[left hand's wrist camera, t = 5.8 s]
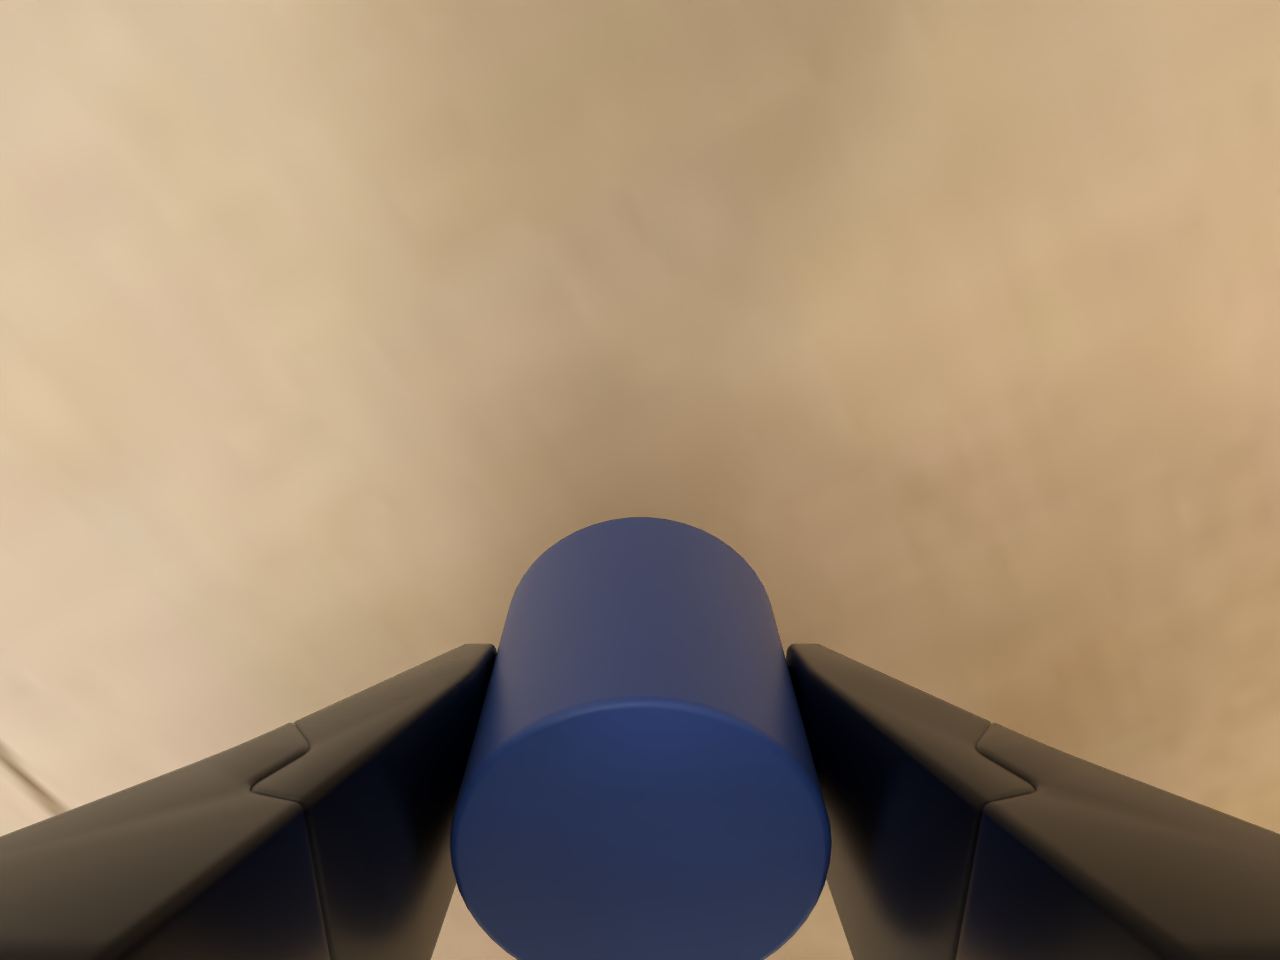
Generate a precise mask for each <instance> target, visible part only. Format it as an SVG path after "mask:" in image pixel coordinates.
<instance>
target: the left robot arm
mask: <svg viewBox="0 0 1280 960" xmlns="http://www.w3.org/2000/svg"><path fill="white" fill-rule="evenodd" d="M496 655H497V651H496V648H495V646H493V645H492V644H465V645H462V646H460V647H458V648H456V649H454V650H451V651H449V652H447V653H445V654H443V655H440V656H438V657H436V658H434V659H432V660H429V661H427V662H425V663H423V664H421V665H418V666H416V667H414V668H412V669H410V670H407V671H405V672H403V673H401V674H399V675H396V676H394V677H392V678H390V679H388V680H385V681H383V682H381V683H379V684H377V685H374V686H372V687H370V688H368V689H366V690H363V691H361V692H359V693H357V694H355V695H352V696H350V697H348V698H346V699H344V700H341V701H339V702H337V703H335V704H333V705H330V706H328V707H326V708H324V709H322V710H319V711H317V712H315V713H313V714H311V715H308V716H306V717H304V718H302V719H300V720H297V721H295V722H294V724H293V723H288V724H286V725H284V726H282V727H279V728H277V729H275V730H273V731H271V732H268V733H266V734H264V735H261V736H259V737H257V738H254V739H252V740H250V741H248V742H245V743H243V744H241V745H238V746H236V747H234V748H231V749H228V750H226V751H223V752H221V753H218V754H216V755H213V756H211V757H208V758H206V759H203V760H201V761H198V762H196V763H193V764H191V765H188V766H185V767H183V768H180V769H177V770H175V771H172V772H170V773H167V774H164V775H162V776H159V777H156V778H154V779H151V780H148V781H146V782H143V783H141V784H138V785H135V786H133V787H130V788H127V789H125V790H122V791H120V792H117V793H114V794H112V795H109V796H106V797H104V798H101V799H99V800H96V801H93V802H91V803H88V804H85V805H83V806H80V807H77V808H75V809H72V810H70V811H67V812H64V813H62V814H59V815H56V816H54V817H51V818H49V819H46V820H43V821H41V822H38V823H35V824H33V825H30V826H28V827H25V828H22V829H20V830H17V831H14V832H12V833H9V834H6V835H4V836H1V837H0V960H431V957H432V954H433V951H434V948H435V945H436V942H437V939H438V936H439V933H440V930H441V927H442V924H443V921H444V918H445V915H446V912H447V909H448V906H449V903H450V900H451V897H452V895H453V892H454V889H455V886H456V883H457V882H456V878H455V875H454V872H453V868H452V862H451V854H450V830H451V824H452V819H453V815H454V810H455V806H456V802H457V799H458V795H459V791H460V788H461V784H462V780H463V777H464V773H465V769H466V766H467V762H468V758H469V755H470V751H471V747H472V743H473V740H474V736H475V732H476V729H477V725H478V721H479V718H480V714H481V710H482V707H483V703H484V699H485V696H486V692H487V688H488V685H489V681H490V677H491V674H492V670H493V666H494V662H495V659H496ZM786 663H787V666H788V670H789V674H790V677H791V681H792V685H793V688H794V692H795V696H796V699H797V703H798V707H799V710H800V714H801V718H802V721H803V725H804V729H805V732H806V736H807V740H808V743H809V747H810V751H811V754H812V758H813V762H814V765H815V769H816V773H817V776H818V780H819V784H820V787H821V791H822V795H823V798H824V802H825V806H826V810H827V813H828V817H829V821H830V828H831V839H832V846H831V858H830V865H829V869H828V873H827V877H826V879H827V882H828V885H829V888H830V891H831V894H832V897H833V900H834V903H835V906H836V909H837V912H838V914H839V917H840V920H841V923H842V926H843V929H844V932H845V935H846V938H847V941H848V944H849V947H850V950H851V953H852V955H853V958H854V960H1280V834H1278V833H1275V832H1273V831H1270V830H1267V829H1265V828H1262V827H1259V826H1257V825H1254V824H1251V823H1249V822H1246V821H1243V820H1241V819H1238V818H1236V817H1233V816H1230V815H1228V814H1225V813H1222V812H1220V811H1217V810H1214V809H1212V808H1209V807H1206V806H1204V805H1201V804H1198V803H1196V802H1193V801H1191V800H1188V799H1185V798H1183V797H1180V796H1177V795H1175V794H1172V793H1169V792H1167V791H1164V790H1161V789H1159V788H1156V787H1153V786H1151V785H1148V784H1146V783H1143V782H1140V781H1138V780H1135V779H1132V778H1130V777H1127V776H1124V775H1122V774H1119V773H1116V772H1114V771H1111V770H1108V769H1106V768H1103V767H1100V766H1098V765H1095V764H1093V763H1090V762H1088V761H1085V760H1082V759H1080V758H1077V757H1075V756H1072V755H1070V754H1067V753H1065V752H1062V751H1060V750H1057V749H1054V748H1052V747H1049V746H1047V745H1045V744H1042V743H1040V742H1038V741H1035V740H1033V739H1031V738H1028V737H1026V736H1024V735H1021V734H1019V733H1017V732H1015V731H1012V730H1010V729H1008V728H1006V727H1003V726H1001V725H999V724H997V723H992V724H991V722H989V721H988V720H985V719H983V718H981V717H979V716H976V715H974V714H972V713H970V712H968V711H965V710H963V709H961V708H959V707H956V706H954V705H952V704H950V703H948V702H945V701H943V700H941V699H939V698H937V697H934V696H932V695H930V694H928V693H925V692H923V691H921V690H919V689H917V688H914V687H912V686H910V685H908V684H905V683H903V682H901V681H899V680H897V679H894V678H892V677H890V676H888V675H886V674H883V673H881V672H879V671H877V670H874V669H872V668H870V667H868V666H866V665H863V664H861V663H859V662H857V661H855V660H852V659H850V658H848V657H846V656H843V655H841V654H839V653H837V652H835V651H832V650H830V649H828V648H826V647H823V646H821V645H819V644H792V645H790V646H789V647H788V649H787V655H786Z"/></svg>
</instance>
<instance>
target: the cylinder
mask: <svg viewBox="0 0 1280 960" xmlns="http://www.w3.org/2000/svg"><path fill="white" fill-rule="evenodd" d="M831 846H832V839H831V828H830V821H829V817H828V813H827V810H826V806H825V802H824V798H823V795H822V791H821V787H820V784H819V780H818V776H817V773H816V769H815V765H814V762H813V758H812V754H811V751H810V747H809V743H808V740H807V736H806V732H805V729H804V725H803V721H802V718H801V714H800V710H799V707H798V703H797V699H796V696H795V692H794V688H793V685H792V681H791V677H790V674H789V670H788V666H787V663H786V659H785V655H784V652H783V648H782V644H781V640H780V637H779V633H778V629H777V626H776V622H775V618H774V615H773V611H772V607H771V604H770V600H769V598H768V596H767V593H766V591H765V589H764V586H763V585H762V583H761V581H760V580H759V578H758V576H757V575H756V573H755V572H754V570H753V569H752V568H751V567H750V566H749V565H748V563H747V562H746V561H745V560H744V559H743V558H742V557H741V556H740V555H739V554H738V553H737V552H736V551H734V550H733V549H732V548H731V547H730V546H728V545H727V544H725V543H724V542H722V541H721V540H719V539H718V538H716V537H714V536H712V535H710V534H708V533H706V532H705V531H703V530H700V529H698V528H695V527H692V526H689V525H687V524H684V523H680V522H675V521H671V520H667V519H659V518H649V517H636V518H623V519H615V520H609V521H606V522H602V523H598V524H594V525H591V526H589V527H586V528H584V529H581V530H579V531H576V532H574V533H573V534H571V535H569V536H567V537H565V538H563V539H562V540H560V541H559V542H557V543H556V544H555V545H553V546H552V547H550V548H549V549H548V550H546V551H545V552H544V553H543V554H542V555H541V556H540V557H539V558H538V559H537V560H536V561H535V562H534V563H533V565H532V566H531V567H530V568H529V570H528V571H527V572H526V574H525V575H524V576H523V578H522V580H521V582H520V583H519V585H518V587H517V589H516V591H515V593H514V596H513V599H512V601H511V604H510V607H509V611H508V615H507V618H506V622H505V626H504V629H503V633H502V637H501V640H500V644H499V648H498V651H497V655H496V659H495V662H494V666H493V670H492V674H491V677H490V681H489V685H488V688H487V692H486V696H485V699H484V703H483V707H482V710H481V714H480V718H479V721H478V725H477V729H476V732H475V736H474V740H473V743H472V747H471V751H470V755H469V758H468V762H467V766H466V769H465V773H464V777H463V780H462V784H461V788H460V791H459V795H458V799H457V802H456V806H455V810H454V815H453V819H452V824H451V830H450V854H451V862H452V868H453V872H454V875H455V878H456V882H457V885H458V889H459V891H460V893H461V896H462V898H463V900H464V902H465V904H466V906H467V908H468V910H469V911H470V913H471V914H472V915H473V917H474V918H475V920H476V921H477V923H478V924H479V925H480V927H481V928H482V929H483V930H484V931H485V932H486V933H487V934H488V936H489V937H490V938H491V939H492V940H493V941H494V942H496V943H497V944H498V945H499V946H500V947H501V948H503V949H504V950H505V951H506V952H507V953H509V954H510V955H511V956H513V957H514V958H516V959H517V960H764V959H766V958H767V957H768V956H770V955H771V954H773V953H774V952H775V951H777V950H778V949H779V948H780V947H781V946H782V945H783V944H785V943H786V942H787V941H788V940H789V939H790V938H791V937H792V936H793V935H794V934H795V933H796V932H797V930H798V929H799V928H800V927H801V926H802V924H803V923H804V922H805V921H806V919H807V918H808V916H809V915H810V913H811V911H812V910H813V908H814V907H815V905H816V903H817V901H818V899H819V896H820V894H821V892H822V889H823V887H824V884H825V881H826V877H827V873H828V869H829V865H830V858H831Z"/></svg>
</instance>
